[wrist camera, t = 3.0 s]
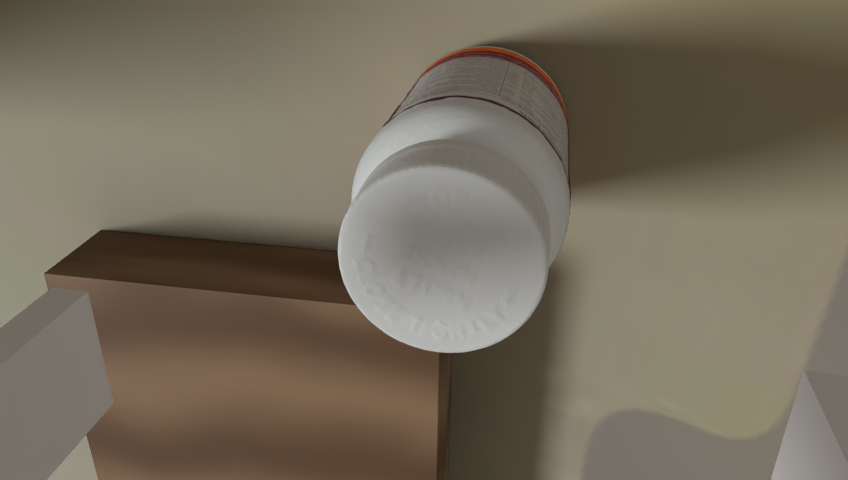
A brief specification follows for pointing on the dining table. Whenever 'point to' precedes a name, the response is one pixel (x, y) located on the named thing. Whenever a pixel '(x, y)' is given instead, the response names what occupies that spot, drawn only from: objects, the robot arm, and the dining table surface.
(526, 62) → the pill bottle
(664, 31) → the dining table surface
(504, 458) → the dining table surface
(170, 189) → the dining table surface
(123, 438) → the walnut block
